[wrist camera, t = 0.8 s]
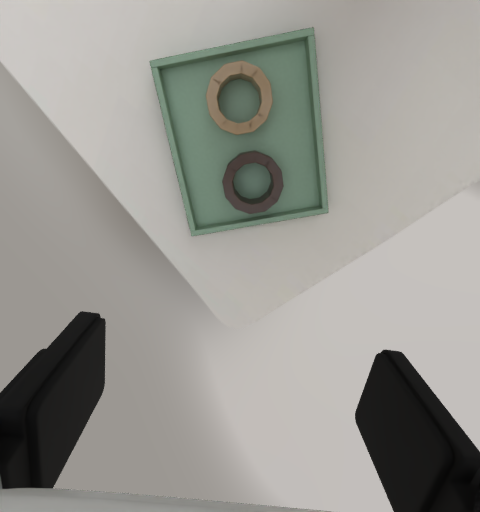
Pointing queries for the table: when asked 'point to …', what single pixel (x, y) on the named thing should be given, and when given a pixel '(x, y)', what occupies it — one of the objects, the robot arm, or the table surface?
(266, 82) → the birch ring
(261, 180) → the tray
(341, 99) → the table surface
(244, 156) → the walnut ring
